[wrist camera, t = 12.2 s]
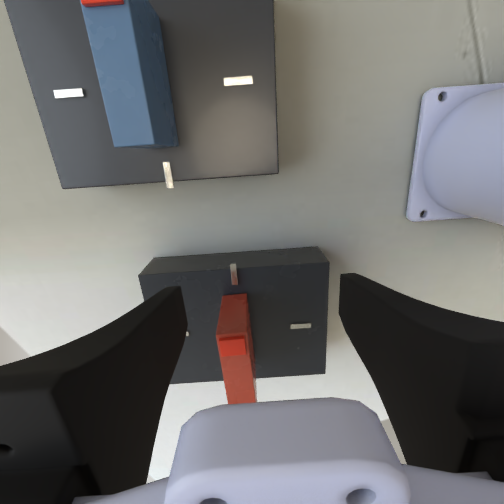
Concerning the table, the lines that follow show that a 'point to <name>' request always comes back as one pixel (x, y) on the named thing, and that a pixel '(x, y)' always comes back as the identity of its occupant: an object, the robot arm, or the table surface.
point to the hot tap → (236, 349)
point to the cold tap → (131, 72)
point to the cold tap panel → (181, 86)
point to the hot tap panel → (250, 308)
